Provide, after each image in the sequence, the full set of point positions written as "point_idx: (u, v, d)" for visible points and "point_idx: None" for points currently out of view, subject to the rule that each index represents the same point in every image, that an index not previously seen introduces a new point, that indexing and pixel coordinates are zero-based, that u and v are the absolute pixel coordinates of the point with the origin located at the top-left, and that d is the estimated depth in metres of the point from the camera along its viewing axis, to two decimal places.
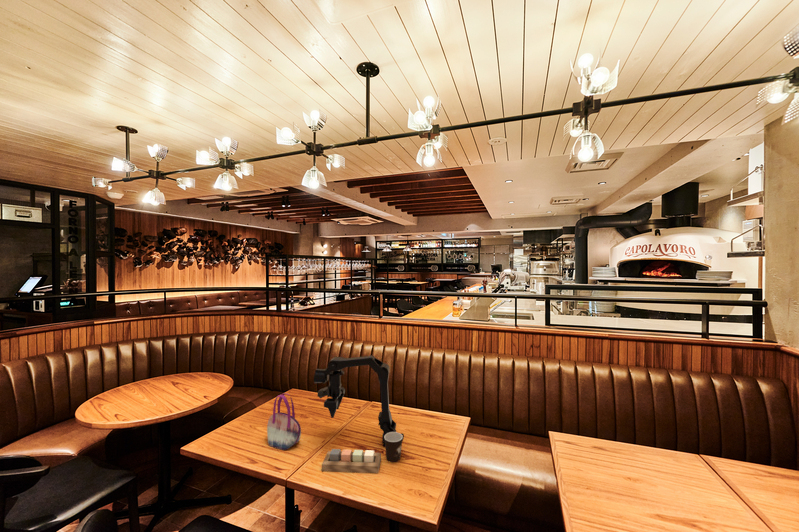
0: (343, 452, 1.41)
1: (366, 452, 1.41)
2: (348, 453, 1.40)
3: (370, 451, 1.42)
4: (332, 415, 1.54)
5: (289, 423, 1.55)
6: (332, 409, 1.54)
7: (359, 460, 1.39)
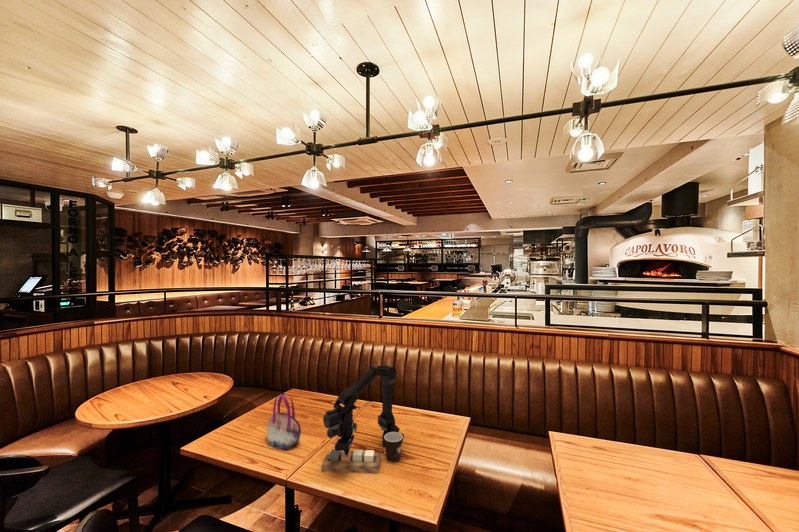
0: (343, 455, 1.41)
1: (366, 452, 1.41)
2: (348, 456, 1.40)
3: (370, 451, 1.42)
4: (346, 452, 1.40)
5: (289, 423, 1.55)
6: None
7: (359, 460, 1.39)
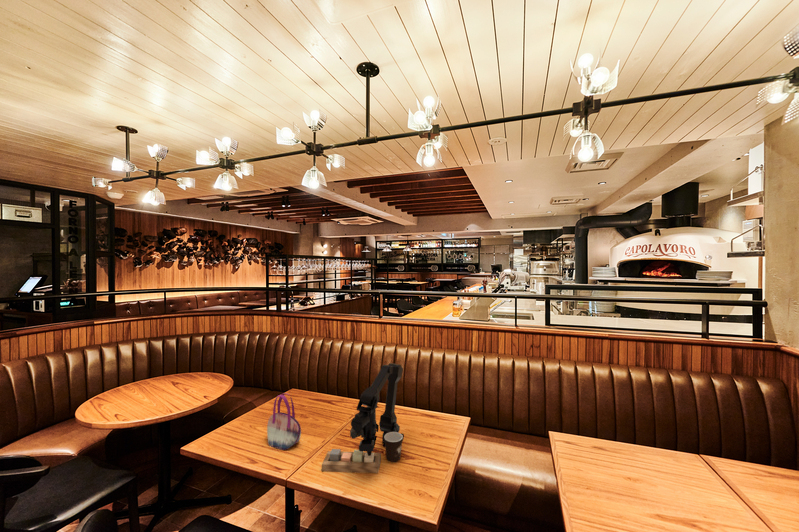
0: (343, 455, 1.41)
1: (366, 454, 1.41)
2: (348, 456, 1.40)
3: None
4: (369, 453, 1.40)
5: (289, 423, 1.55)
6: None
7: (359, 460, 1.39)
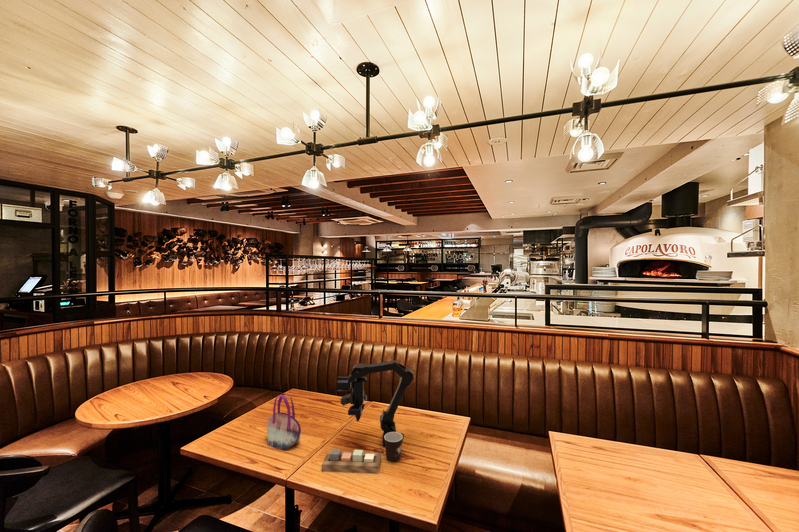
0: (343, 455, 1.41)
1: (366, 455, 1.41)
2: (348, 456, 1.40)
3: (370, 454, 1.42)
4: (358, 418, 1.56)
5: (289, 423, 1.55)
6: None
7: (359, 460, 1.39)
